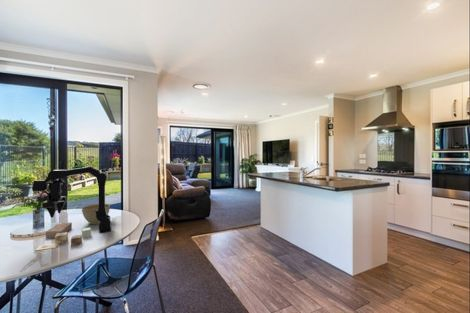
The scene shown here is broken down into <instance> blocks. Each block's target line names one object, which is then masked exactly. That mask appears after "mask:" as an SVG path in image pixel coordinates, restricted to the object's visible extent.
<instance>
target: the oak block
mask: <svg viewBox="0 0 470 313" xmlns="http://www.w3.org/2000/svg"><path fill="white" fill-rule="evenodd" d="M68 234H69V233H68V232H65V233H57V235H56V236H55V238H54V243H59V244H64V243H65V244H66V242H67V241H68V238H69V237H68V236H69V235H68Z"/></svg>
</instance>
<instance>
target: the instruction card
mask: <svg viewBox="0 0 470 313" xmlns="http://www.w3.org/2000/svg"><path fill="white" fill-rule="evenodd" d="M58 245H60V243H55V242H54V243H48V244H47V243H45V244H40V245H39V246H38V247H37V248H36V249H35V250H34V251H35V252H37V251H42V250H52V249H56V248H58Z"/></svg>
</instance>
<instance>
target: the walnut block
mask: <svg viewBox="0 0 470 313" xmlns="http://www.w3.org/2000/svg"><path fill="white" fill-rule="evenodd" d="M82 240H83V237H82V234H78V235H72V237H71V239H70V247H74V246H76V247H77V246H80V245H82V243H83V241H82Z"/></svg>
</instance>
